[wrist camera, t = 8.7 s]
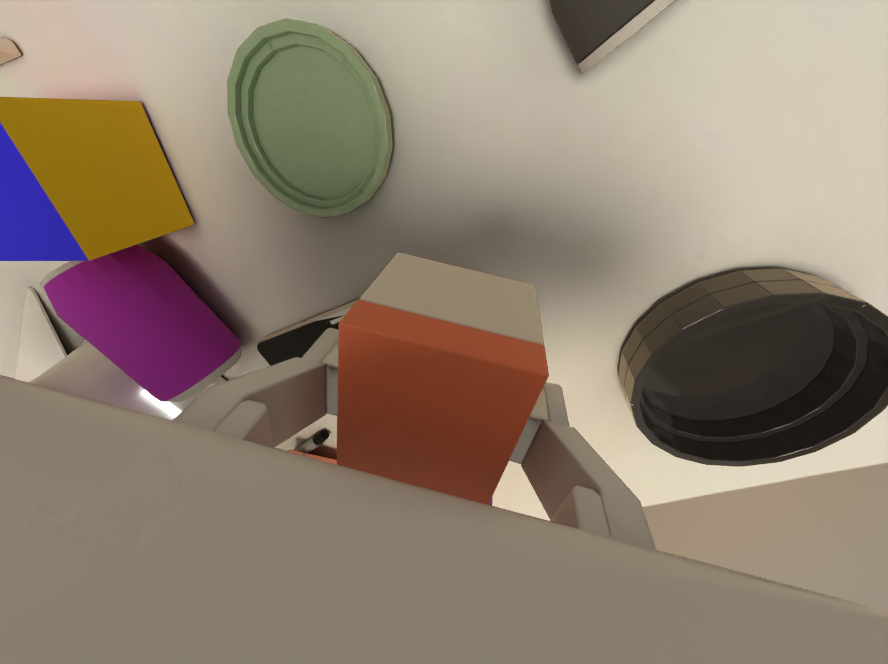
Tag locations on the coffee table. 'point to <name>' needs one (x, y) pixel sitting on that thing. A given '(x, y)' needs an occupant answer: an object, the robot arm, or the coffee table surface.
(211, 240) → the coffee table surface
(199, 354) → the beverage can
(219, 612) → the robot arm
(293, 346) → the smartphone
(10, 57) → the mooring cleat
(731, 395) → the pan
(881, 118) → the coffee table surface
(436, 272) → the sushi
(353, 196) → the saucer
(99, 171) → the cube
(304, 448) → the pen
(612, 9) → the flashlight
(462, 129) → the coffee table surface
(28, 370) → the white thin flat piece
